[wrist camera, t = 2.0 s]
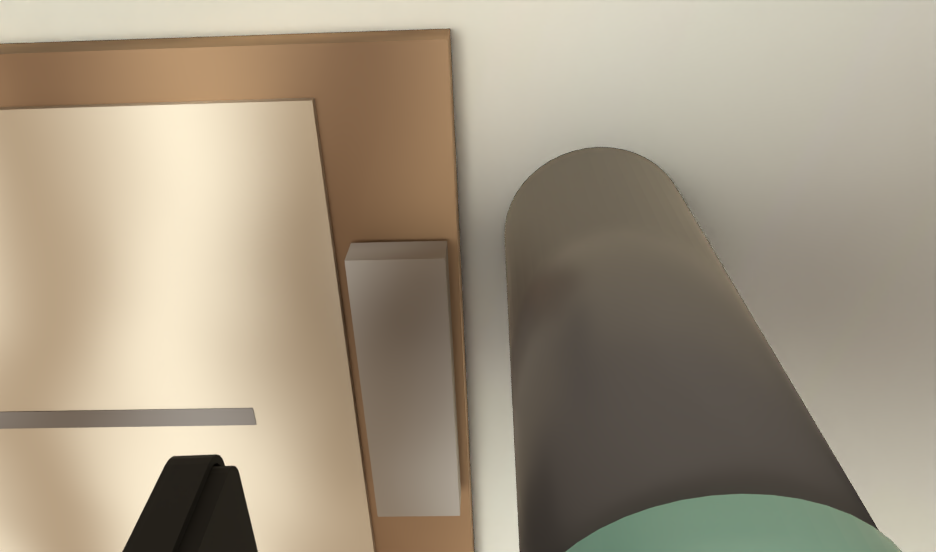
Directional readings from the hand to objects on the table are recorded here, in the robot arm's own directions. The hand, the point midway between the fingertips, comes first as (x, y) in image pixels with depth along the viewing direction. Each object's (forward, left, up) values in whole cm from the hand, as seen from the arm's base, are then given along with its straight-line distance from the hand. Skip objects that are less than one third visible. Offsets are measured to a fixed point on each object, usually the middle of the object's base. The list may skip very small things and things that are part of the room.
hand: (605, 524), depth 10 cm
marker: (-1, 0, -8) cm, 8 cm away
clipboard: (+11, +3, -8) cm, 14 cm away
